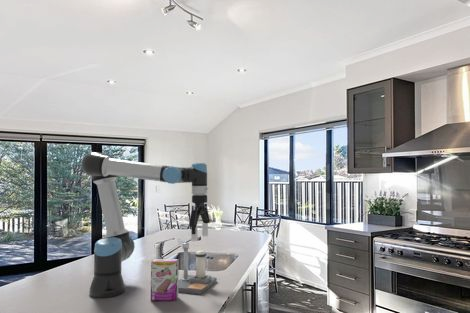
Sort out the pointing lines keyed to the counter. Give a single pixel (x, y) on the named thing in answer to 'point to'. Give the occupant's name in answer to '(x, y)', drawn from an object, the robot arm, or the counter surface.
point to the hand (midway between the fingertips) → (200, 238)
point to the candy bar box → (164, 279)
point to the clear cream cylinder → (200, 264)
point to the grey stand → (193, 280)
